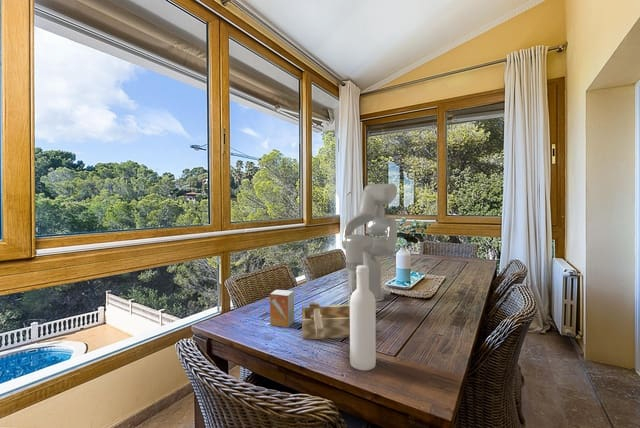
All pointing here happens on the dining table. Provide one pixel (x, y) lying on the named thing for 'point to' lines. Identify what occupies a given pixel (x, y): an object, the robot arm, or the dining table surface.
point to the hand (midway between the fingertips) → (354, 306)
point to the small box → (282, 308)
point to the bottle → (362, 323)
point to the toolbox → (326, 321)
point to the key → (318, 324)
